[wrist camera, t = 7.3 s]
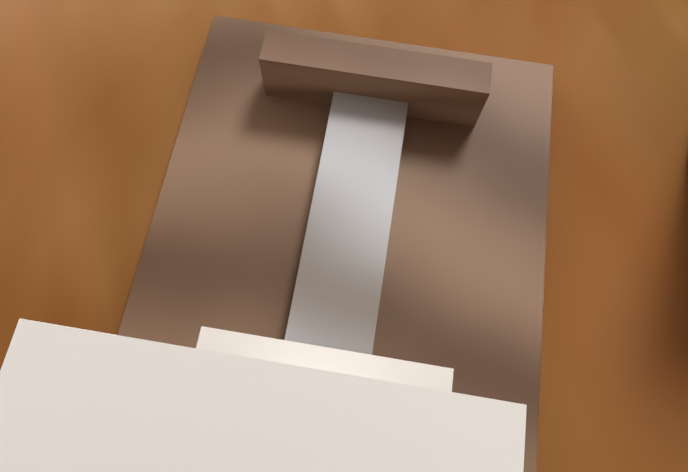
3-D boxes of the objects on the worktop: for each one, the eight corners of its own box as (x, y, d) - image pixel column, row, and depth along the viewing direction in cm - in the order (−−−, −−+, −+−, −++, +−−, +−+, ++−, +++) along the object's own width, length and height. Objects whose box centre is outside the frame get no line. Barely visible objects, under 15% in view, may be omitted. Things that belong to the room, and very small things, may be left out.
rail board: (508, 775, 13) (554, 866, 10) (29, 681, 14) (-47, 745, 11) (542, 82, 20) (576, 27, 17) (219, 34, 20) (201, -27, 17)
